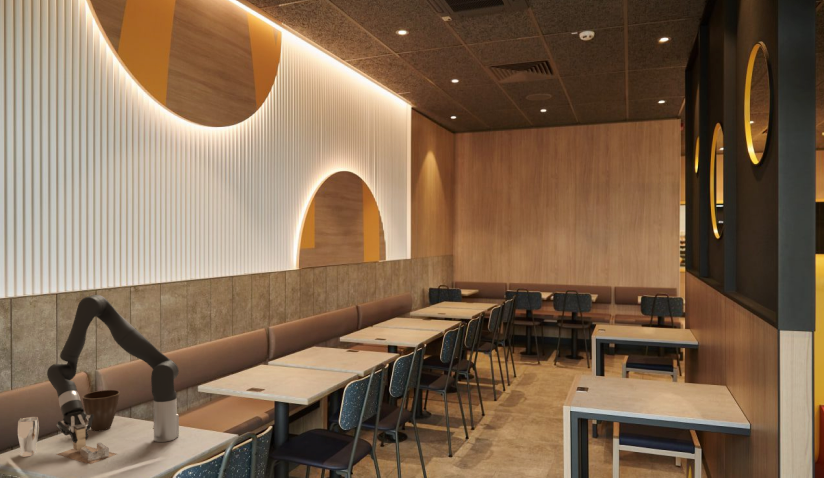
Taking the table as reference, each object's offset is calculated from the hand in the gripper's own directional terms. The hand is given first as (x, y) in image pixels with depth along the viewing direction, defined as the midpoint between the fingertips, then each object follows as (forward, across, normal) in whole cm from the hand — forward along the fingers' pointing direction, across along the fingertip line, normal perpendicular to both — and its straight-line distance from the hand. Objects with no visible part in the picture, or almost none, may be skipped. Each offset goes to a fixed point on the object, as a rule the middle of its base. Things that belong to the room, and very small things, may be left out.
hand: (81, 440), depth 221 cm
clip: (+9, +2, -2) cm, 10 cm away
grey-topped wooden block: (+1, 0, +4) cm, 4 cm away
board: (+6, +1, +3) cm, 7 cm away
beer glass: (-7, -14, +16) cm, 22 cm away
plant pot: (-16, +17, +26) cm, 35 cm away
